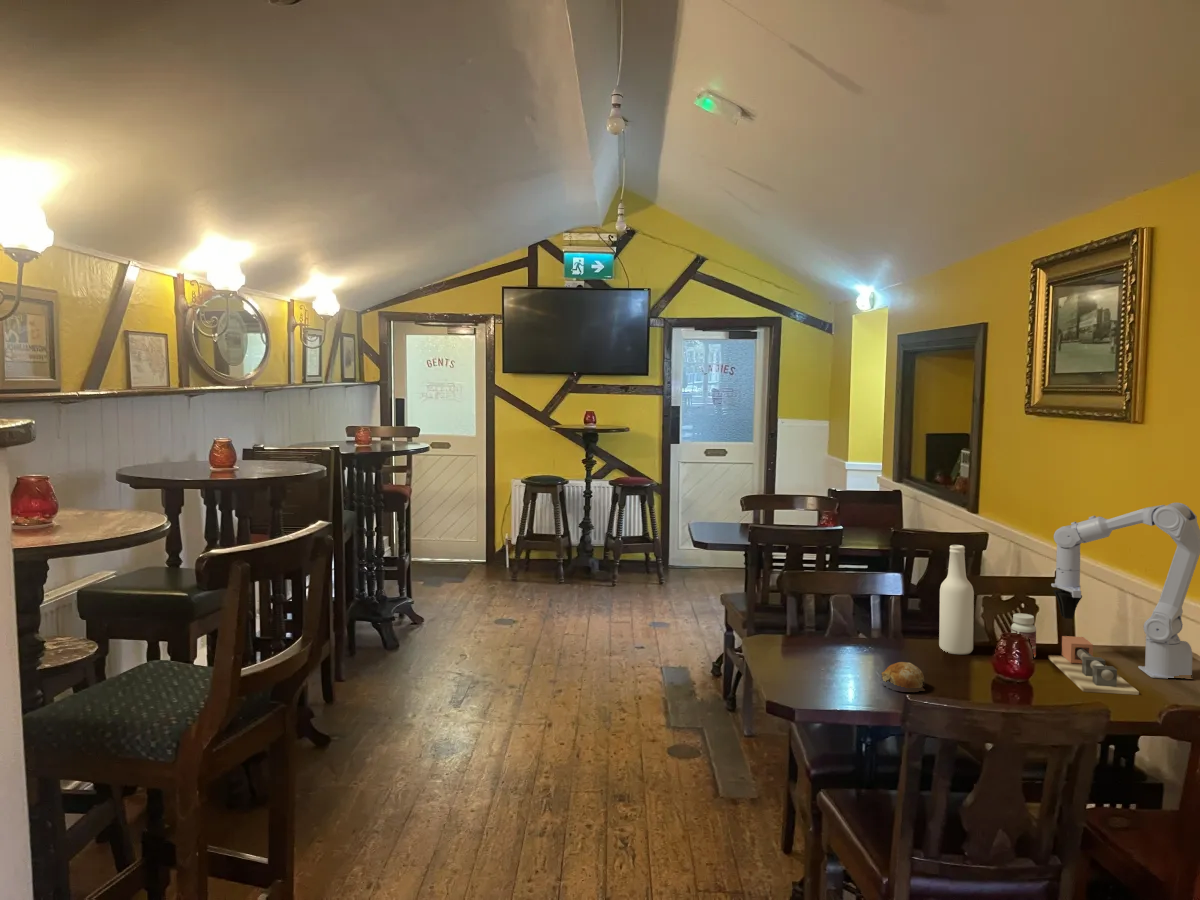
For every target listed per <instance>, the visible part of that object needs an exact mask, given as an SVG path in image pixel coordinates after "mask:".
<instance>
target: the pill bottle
mask: <svg viewBox="0 0 1200 900" xmlns="http://www.w3.org/2000/svg"><path fill="white" fill-rule="evenodd" d="M1012 616H1013V617H1012V622H1014V623H1011V626H1010V629H1011V630H1010V634H1011V633H1017V634H1021V635H1024V636H1026V637H1028V638H1029V639H1030V643H1031V645H1032V650H1033V654H1034V658H1036V656H1037V628H1036V626H1035V624H1034V623H1035V617H1034V615H1032V614H1030V613H1029V614H1028V613H1021V612H1018V613H1017V612H1016V613H1013V615H1012Z"/></svg>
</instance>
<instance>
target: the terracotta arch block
mask: <svg viewBox="0 0 1200 900" xmlns="http://www.w3.org/2000/svg"><path fill="white" fill-rule="evenodd" d="M1076 647H1082V648H1083V649H1084V650H1085V651H1087V652H1088V653H1089V654H1090V655H1092V656H1093V657H1094V655H1093V654H1094V644H1093V643H1092V642H1090V641H1089V640H1088V639H1087V638H1085V637H1084V636H1071V635H1069V636H1067V635H1062V636H1061V656H1064V657H1065V658H1066V659H1067V660H1068V661H1069V662H1070V663H1082V660H1081V659H1080V658H1079V657H1078V656H1077V655H1075V648H1076Z"/></svg>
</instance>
